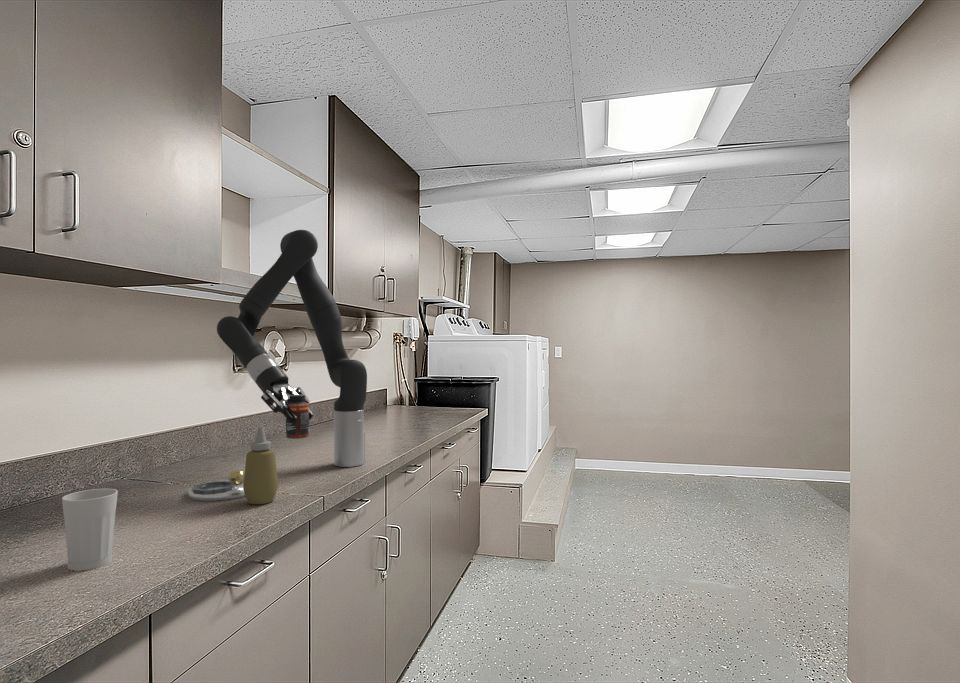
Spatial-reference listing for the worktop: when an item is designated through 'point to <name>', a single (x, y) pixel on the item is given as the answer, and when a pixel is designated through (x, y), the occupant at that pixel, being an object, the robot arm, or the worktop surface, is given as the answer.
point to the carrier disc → (219, 488)
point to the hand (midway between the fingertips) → (302, 419)
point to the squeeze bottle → (260, 471)
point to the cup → (89, 527)
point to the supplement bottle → (298, 418)
